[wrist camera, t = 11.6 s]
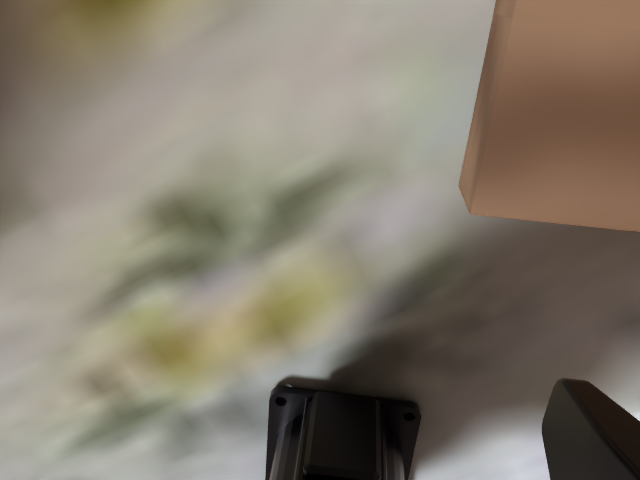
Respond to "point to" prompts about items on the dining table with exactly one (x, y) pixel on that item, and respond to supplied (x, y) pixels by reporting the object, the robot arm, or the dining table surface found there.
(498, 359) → the dining table surface
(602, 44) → the holder block
